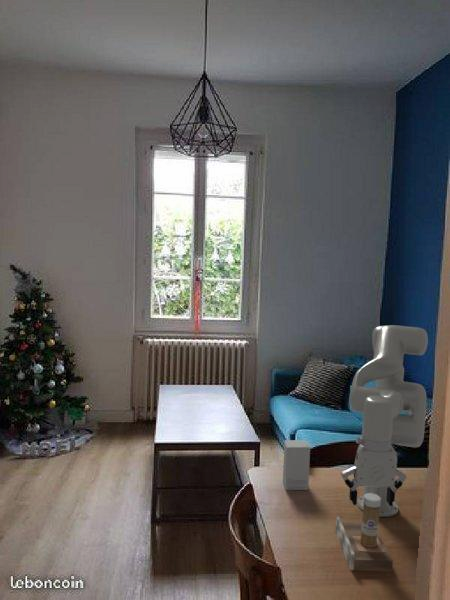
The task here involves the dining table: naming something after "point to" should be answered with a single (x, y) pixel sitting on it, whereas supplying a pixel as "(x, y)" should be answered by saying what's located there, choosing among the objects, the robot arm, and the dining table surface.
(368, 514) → the sprinkles bottle
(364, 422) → the robot arm
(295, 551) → the dining table surface
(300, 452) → the skincare box
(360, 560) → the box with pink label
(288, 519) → the dining table surface
